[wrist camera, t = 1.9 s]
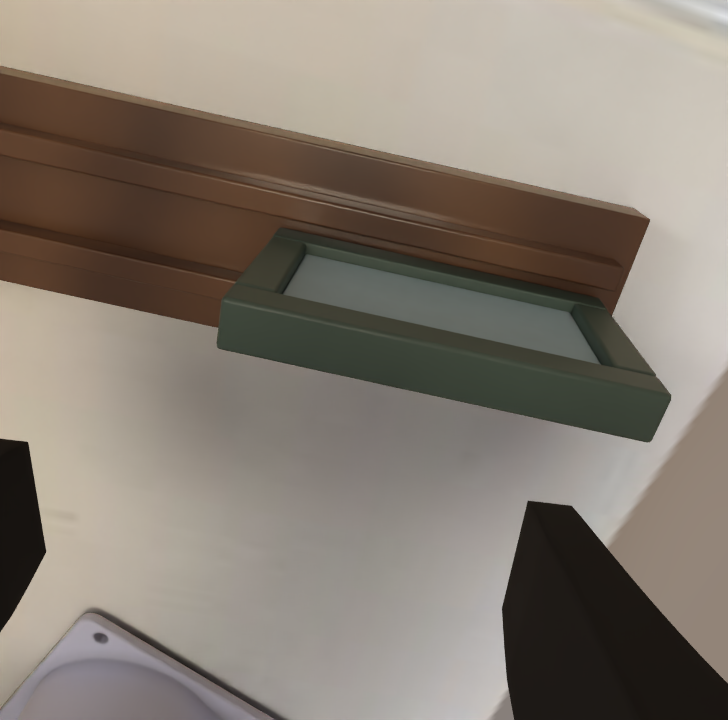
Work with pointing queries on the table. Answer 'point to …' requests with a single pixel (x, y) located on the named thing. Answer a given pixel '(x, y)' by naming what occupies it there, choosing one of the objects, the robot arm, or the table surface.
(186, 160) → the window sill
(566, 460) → the table surface
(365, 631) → the table surface
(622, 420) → the window pane
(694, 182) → the table surface
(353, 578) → the table surface
